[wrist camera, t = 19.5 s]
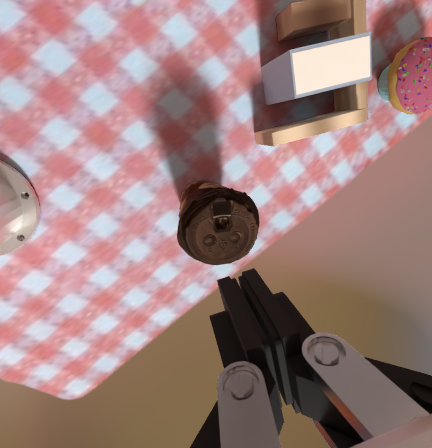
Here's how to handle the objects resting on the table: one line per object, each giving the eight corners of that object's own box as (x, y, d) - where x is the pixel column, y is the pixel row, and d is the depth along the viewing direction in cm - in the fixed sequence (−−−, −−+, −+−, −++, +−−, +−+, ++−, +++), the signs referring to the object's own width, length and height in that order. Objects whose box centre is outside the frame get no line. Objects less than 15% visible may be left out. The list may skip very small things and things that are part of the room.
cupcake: (423, 47, 37) (536, 13, 26) (412, 114, 40) (509, 108, 29) (368, 48, 36) (463, 12, 25) (361, 117, 39) (442, 112, 28)
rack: (256, 144, 37) (273, 146, 31) (236, 26, 32) (252, 4, 26) (345, 120, 38) (376, 118, 33) (339, 3, 33) (376, -22, 28)
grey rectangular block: (266, 105, 36) (295, 98, 28) (260, 67, 34) (289, 49, 26) (328, 89, 37) (372, 79, 29) (325, 52, 35) (371, 31, 28)
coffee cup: (196, 157, 36) (216, 171, 24) (243, 191, 39) (283, 219, 27) (160, 210, 37) (162, 249, 25) (209, 240, 40) (231, 287, 28)
